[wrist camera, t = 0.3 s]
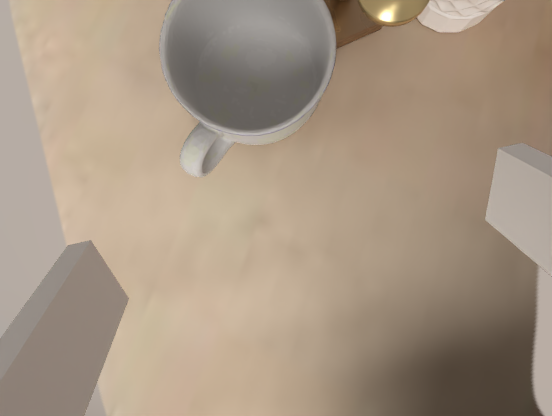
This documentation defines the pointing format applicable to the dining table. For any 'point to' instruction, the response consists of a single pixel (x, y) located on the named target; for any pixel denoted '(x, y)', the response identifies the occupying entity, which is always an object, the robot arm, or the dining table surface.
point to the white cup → (455, 14)
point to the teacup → (245, 70)
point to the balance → (370, 16)
